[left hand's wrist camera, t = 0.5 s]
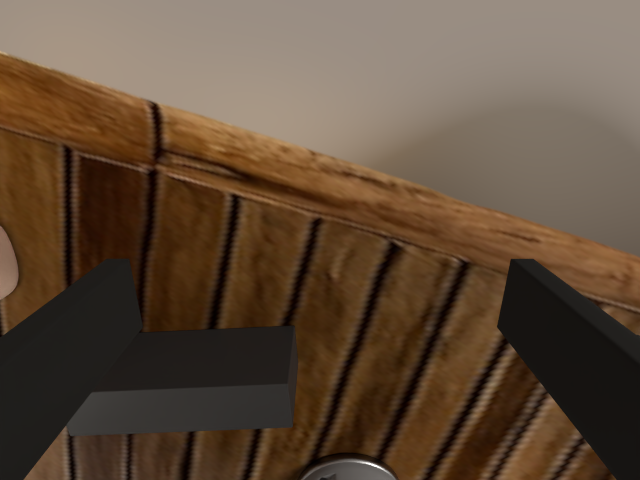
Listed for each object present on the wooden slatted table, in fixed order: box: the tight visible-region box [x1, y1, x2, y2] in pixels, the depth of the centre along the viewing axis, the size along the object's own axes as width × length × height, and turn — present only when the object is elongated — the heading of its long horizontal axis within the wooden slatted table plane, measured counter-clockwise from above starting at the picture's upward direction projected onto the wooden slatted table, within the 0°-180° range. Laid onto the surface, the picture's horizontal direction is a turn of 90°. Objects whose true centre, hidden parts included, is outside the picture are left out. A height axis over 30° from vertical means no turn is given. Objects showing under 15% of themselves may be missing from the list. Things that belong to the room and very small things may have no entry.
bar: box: [66, 326, 298, 436], centre depth 40 cm, size 23×6×10 cm, turn 93°
